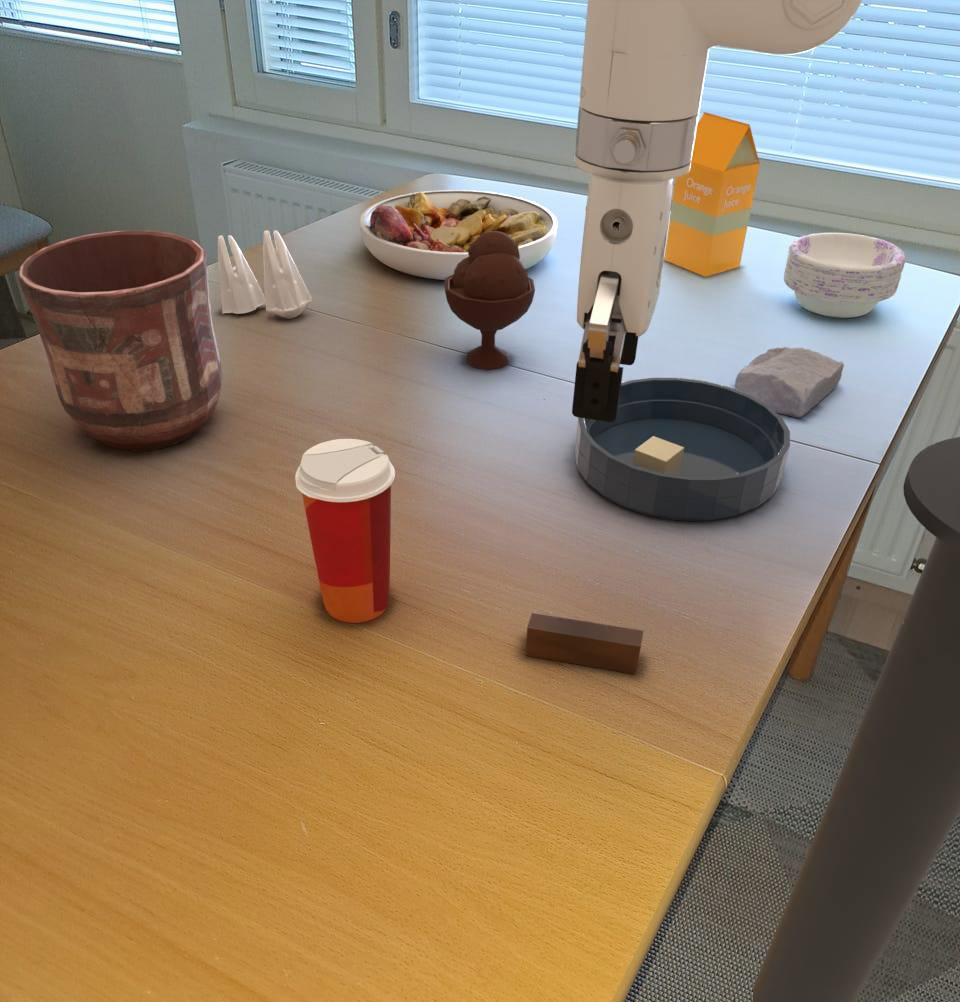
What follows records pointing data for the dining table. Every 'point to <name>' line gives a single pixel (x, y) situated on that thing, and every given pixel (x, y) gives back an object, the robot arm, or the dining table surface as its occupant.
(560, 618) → the brown wooden stick
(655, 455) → the block
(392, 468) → the paper cup
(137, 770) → the dining table surface
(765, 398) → the stone block
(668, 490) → the bowl
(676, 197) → the orange juice
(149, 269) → the pottery
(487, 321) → the ice cream bowl
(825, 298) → the paper bowls
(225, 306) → the shaker set
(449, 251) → the bowl
